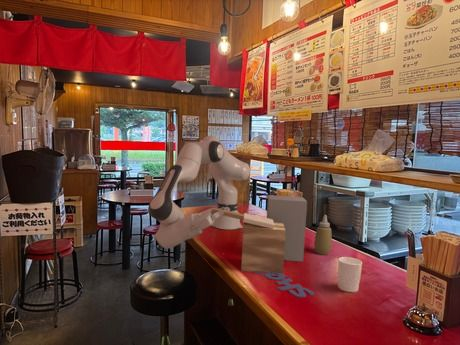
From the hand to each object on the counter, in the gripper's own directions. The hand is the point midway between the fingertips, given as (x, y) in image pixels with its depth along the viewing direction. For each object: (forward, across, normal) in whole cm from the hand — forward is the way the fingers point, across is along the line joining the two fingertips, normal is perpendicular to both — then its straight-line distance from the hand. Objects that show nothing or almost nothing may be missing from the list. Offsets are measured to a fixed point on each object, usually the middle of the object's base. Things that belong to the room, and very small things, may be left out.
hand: (223, 210), depth 135 cm
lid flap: (+5, 0, +6) cm, 8 cm away
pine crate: (+3, 0, +27) cm, 27 cm away
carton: (+12, +16, +32) cm, 38 cm away
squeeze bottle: (+28, +24, +42) cm, 56 cm away
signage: (+8, -12, +31) cm, 34 cm away
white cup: (+29, -15, +42) cm, 54 cm away
